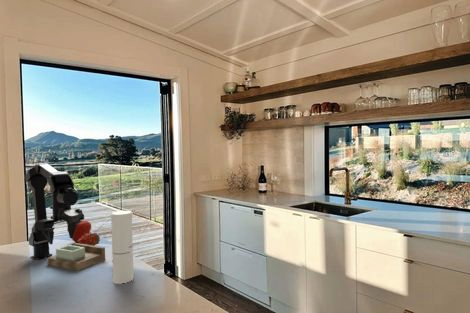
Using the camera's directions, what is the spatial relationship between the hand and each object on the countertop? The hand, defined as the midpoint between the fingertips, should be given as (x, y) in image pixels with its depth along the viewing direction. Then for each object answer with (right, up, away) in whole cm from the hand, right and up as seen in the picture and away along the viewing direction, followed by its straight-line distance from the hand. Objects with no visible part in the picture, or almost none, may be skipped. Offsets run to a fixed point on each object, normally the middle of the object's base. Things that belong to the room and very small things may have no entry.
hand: (61, 241), depth 131 cm
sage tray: (+2, -8, +4) cm, 9 cm away
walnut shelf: (+3, -11, +7) cm, 13 cm away
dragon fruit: (-1, -11, +26) cm, 29 cm away
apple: (-11, -11, +37) cm, 40 cm away
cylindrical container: (+30, -11, -13) cm, 35 cm away
